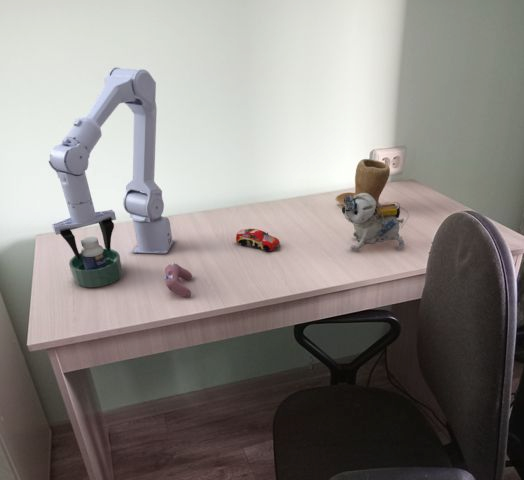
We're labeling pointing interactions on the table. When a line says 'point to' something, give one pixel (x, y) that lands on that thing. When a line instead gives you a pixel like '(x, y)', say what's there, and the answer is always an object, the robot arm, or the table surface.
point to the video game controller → (177, 279)
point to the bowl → (97, 271)
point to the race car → (257, 239)
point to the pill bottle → (92, 253)
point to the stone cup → (368, 179)
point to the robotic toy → (372, 220)
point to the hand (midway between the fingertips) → (93, 253)
